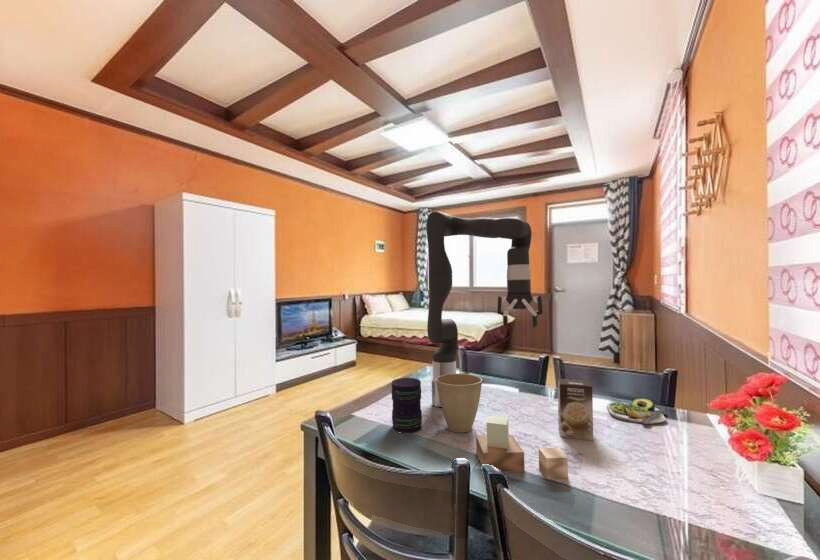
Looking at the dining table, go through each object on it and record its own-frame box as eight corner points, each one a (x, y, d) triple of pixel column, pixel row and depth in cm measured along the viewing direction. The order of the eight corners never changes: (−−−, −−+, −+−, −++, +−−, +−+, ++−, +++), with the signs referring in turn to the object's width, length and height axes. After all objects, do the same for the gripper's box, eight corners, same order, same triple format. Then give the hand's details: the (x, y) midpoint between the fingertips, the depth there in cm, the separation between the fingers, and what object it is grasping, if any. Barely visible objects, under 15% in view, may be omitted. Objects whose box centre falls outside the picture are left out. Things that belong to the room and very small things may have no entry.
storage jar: (426, 424, 114) (425, 379, 114) (414, 435, 105) (413, 387, 105) (400, 419, 118) (399, 376, 118) (386, 430, 109) (385, 384, 109)
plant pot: (492, 427, 110) (491, 378, 110) (464, 442, 100) (463, 388, 100) (455, 415, 121) (454, 370, 121) (427, 428, 110) (426, 379, 111)
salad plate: (676, 432, 104) (676, 417, 104) (609, 423, 112) (609, 409, 112) (663, 411, 121) (662, 398, 122) (606, 405, 130) (605, 392, 130)
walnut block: (484, 473, 84) (483, 453, 84) (476, 453, 94) (476, 435, 94) (524, 472, 84) (524, 452, 84) (512, 452, 94) (512, 434, 94)
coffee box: (560, 437, 102) (558, 383, 102) (558, 428, 108) (556, 378, 108) (594, 441, 99) (592, 386, 99) (590, 432, 105) (588, 380, 105)
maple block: (547, 479, 80) (546, 457, 80) (539, 468, 85) (538, 448, 85) (568, 478, 80) (567, 457, 80) (558, 467, 85) (558, 447, 85)
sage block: (487, 446, 87) (486, 422, 88) (489, 437, 92) (489, 415, 92) (507, 448, 86) (506, 424, 86) (508, 440, 90) (508, 417, 91)
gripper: (496, 279, 111) (497, 328, 111) (542, 277, 108) (544, 329, 107) (496, 279, 118) (497, 325, 118) (539, 278, 115) (541, 326, 114)
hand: (519, 327), depth 113 cm, fingers open, 8 cm apart
